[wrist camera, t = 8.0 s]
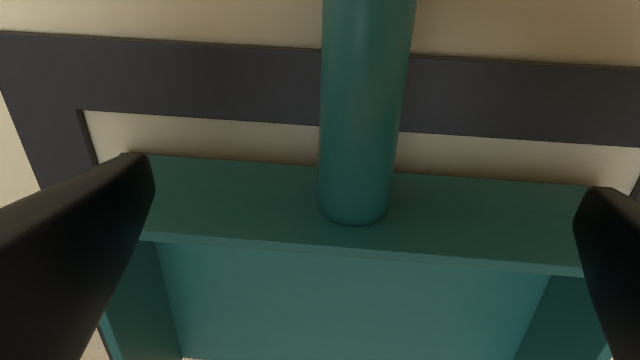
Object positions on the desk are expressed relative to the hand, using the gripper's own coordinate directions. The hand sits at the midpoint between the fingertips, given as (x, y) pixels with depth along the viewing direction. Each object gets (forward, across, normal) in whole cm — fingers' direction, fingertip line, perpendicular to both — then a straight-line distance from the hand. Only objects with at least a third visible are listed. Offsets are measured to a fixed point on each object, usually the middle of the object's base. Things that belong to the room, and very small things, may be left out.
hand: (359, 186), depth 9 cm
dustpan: (+6, 0, +4) cm, 7 cm away
